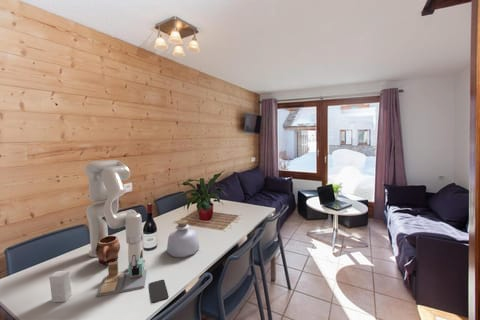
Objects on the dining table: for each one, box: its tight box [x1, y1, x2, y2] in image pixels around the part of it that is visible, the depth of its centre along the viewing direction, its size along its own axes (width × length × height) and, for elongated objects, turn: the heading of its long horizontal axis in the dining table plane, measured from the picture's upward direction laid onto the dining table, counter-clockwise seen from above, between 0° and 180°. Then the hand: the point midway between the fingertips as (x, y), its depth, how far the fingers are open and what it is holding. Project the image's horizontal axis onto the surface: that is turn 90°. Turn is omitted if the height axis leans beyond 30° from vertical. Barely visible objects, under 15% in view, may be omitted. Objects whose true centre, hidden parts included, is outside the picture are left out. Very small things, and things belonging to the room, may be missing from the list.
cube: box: [128, 257, 144, 277], centre depth 118 cm, size 6×6×6 cm
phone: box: [148, 279, 170, 304], centre depth 107 cm, size 7×1×15 cm
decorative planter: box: [96, 234, 121, 266], centre depth 131 cm, size 20×12×14 cm, turn 25°
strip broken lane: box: [104, 260, 122, 284], centre depth 114 cm, size 7×6×7 cm
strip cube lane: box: [129, 249, 146, 279], centre depth 122 cm, size 15×6×7 cm, turn 18°
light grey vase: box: [166, 219, 200, 258], centre depth 145 cm, size 20×20×19 cm
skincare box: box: [48, 270, 73, 303], centre depth 102 cm, size 6×4×12 cm
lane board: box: [96, 269, 148, 297], centre depth 113 cm, size 14×20×2 cm
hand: (136, 270), depth 118 cm, fingers closed on cube, 6 cm apart
